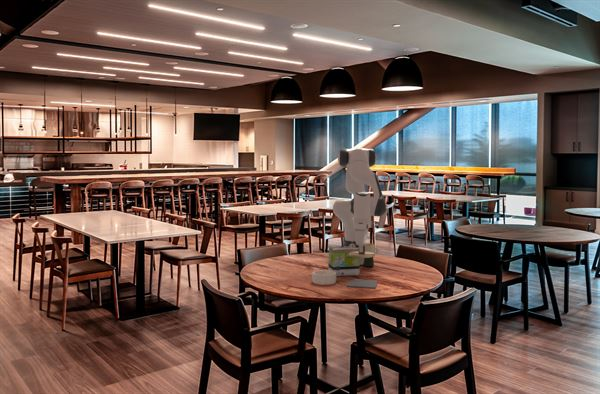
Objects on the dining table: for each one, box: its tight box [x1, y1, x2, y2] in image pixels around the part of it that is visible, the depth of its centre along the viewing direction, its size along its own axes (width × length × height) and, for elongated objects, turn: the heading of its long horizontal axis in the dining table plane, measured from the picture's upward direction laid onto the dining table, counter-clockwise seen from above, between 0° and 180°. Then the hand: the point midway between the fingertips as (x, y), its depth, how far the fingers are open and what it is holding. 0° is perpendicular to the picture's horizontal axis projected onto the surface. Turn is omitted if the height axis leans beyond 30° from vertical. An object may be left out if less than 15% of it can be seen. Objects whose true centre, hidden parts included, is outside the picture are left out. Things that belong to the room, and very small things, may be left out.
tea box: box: [327, 246, 361, 277], centre depth 281 cm, size 15×10×15 cm
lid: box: [349, 245, 376, 258], centre depth 258 cm, size 13×13×5 cm
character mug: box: [362, 243, 379, 267], centre depth 301 cm, size 11×7×13 cm, turn 79°
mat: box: [346, 278, 379, 289], centre depth 259 cm, size 14×14×1 cm
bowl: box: [311, 269, 337, 286], centre depth 264 cm, size 12×12×5 cm
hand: (361, 251), depth 258 cm, fingers closed on lid, 3 cm apart
